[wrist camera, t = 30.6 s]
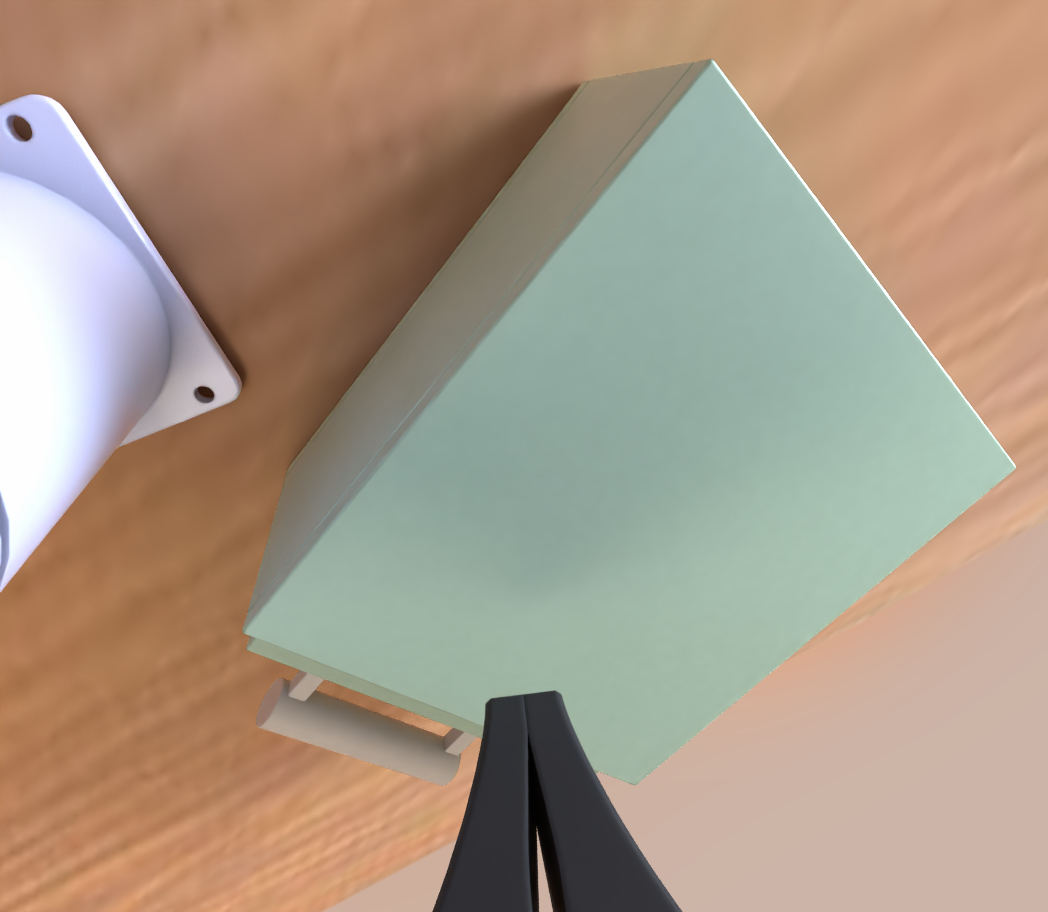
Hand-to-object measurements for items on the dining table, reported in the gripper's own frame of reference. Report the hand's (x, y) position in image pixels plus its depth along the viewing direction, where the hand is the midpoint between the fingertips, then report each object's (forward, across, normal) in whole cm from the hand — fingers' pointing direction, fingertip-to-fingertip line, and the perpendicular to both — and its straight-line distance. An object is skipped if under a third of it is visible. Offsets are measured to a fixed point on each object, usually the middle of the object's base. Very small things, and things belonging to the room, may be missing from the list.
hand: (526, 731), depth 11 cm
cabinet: (+11, -3, -2) cm, 11 cm away
